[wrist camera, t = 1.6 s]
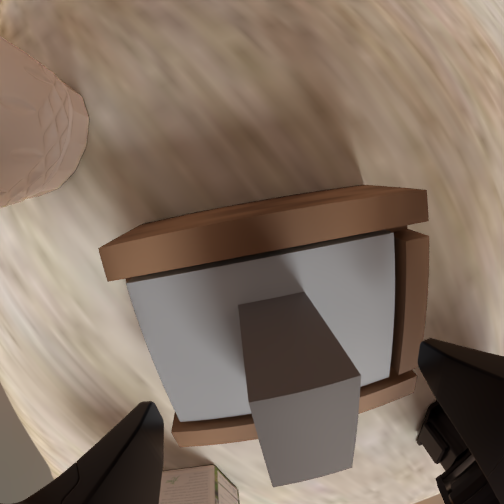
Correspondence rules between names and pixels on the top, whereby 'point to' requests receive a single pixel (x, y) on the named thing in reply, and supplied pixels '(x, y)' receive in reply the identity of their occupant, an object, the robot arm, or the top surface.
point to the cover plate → (214, 330)
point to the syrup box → (197, 487)
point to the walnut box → (285, 236)
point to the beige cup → (36, 127)
